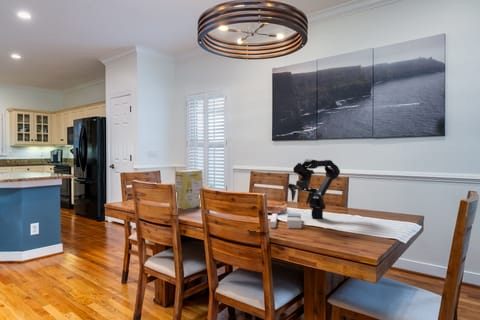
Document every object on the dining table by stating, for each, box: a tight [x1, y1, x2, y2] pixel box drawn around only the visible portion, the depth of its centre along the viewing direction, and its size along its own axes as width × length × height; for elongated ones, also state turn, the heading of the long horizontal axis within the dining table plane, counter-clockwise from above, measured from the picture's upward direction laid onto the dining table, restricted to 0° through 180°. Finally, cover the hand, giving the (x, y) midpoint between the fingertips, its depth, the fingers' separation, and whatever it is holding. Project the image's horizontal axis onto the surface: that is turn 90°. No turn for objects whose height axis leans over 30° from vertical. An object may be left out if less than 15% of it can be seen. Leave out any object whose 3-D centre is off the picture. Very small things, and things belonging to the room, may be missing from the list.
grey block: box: [286, 216, 303, 229], centre depth 182 cm, size 8×8×4 cm
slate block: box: [286, 212, 302, 219], centre depth 194 cm, size 8×8×4 cm
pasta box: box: [174, 169, 203, 210], centre depth 243 cm, size 18×10×28 cm, turn 138°
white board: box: [269, 213, 278, 228], centre depth 189 cm, size 3×22×4 cm, turn 170°
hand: (299, 202), depth 192 cm, fingers open, 9 cm apart
